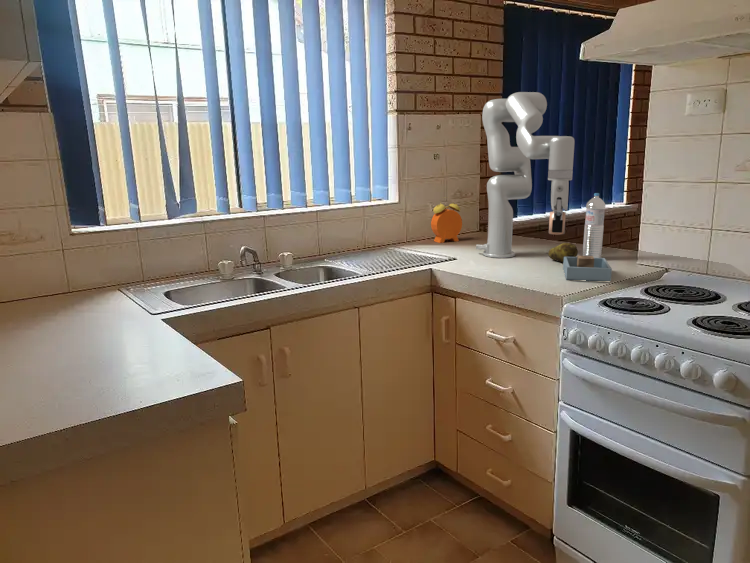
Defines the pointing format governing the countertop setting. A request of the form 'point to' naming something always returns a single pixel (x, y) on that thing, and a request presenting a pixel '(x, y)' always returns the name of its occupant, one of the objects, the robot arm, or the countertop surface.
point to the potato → (563, 251)
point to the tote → (587, 270)
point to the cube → (585, 261)
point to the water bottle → (594, 227)
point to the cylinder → (551, 223)
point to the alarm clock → (446, 223)
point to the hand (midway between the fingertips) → (556, 230)
